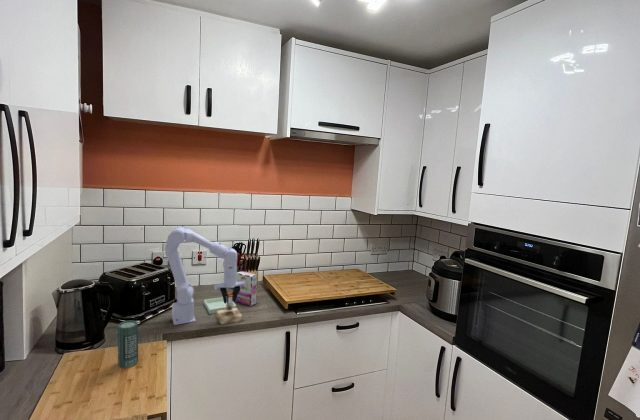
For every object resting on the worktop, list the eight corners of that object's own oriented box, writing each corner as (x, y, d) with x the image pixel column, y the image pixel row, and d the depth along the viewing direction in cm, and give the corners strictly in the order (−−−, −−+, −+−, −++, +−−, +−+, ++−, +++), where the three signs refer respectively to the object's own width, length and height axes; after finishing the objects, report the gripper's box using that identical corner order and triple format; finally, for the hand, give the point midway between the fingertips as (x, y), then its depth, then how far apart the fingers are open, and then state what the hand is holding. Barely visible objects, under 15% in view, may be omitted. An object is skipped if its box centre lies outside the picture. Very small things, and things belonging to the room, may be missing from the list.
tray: (209, 314, 168) (209, 309, 168) (204, 304, 179) (204, 299, 179) (236, 310, 175) (236, 305, 174) (229, 300, 186) (229, 296, 186)
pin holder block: (221, 324, 159) (221, 319, 159) (216, 315, 167) (216, 310, 167) (242, 320, 164) (242, 315, 164) (236, 312, 172) (236, 307, 172)
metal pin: (226, 311, 162) (226, 295, 161) (224, 307, 166) (224, 292, 165) (234, 309, 164) (235, 294, 163) (232, 306, 168) (232, 291, 167)
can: (133, 356, 129) (133, 318, 128) (140, 363, 126) (140, 324, 124) (115, 362, 125) (115, 324, 123) (122, 370, 121) (122, 330, 119)
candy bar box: (256, 303, 185) (257, 274, 183) (250, 306, 180) (251, 276, 178) (240, 298, 190) (241, 270, 188) (234, 301, 185) (235, 272, 183)
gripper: (217, 279, 156) (216, 307, 158) (247, 275, 163) (246, 302, 165) (213, 274, 162) (212, 301, 164) (243, 271, 169) (242, 297, 171)
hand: (229, 301), depth 165 cm, fingers closed on metal pin, 4 cm apart
